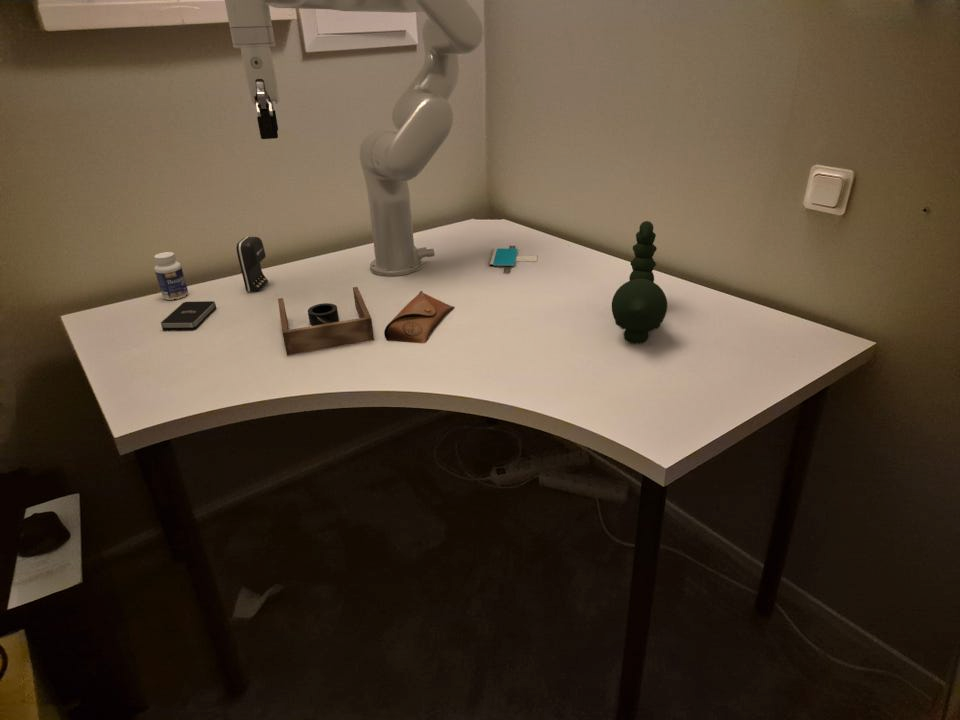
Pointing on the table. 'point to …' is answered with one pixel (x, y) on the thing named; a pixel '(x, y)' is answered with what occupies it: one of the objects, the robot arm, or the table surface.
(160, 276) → the pill bottle
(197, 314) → the external hard drive
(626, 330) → the dark green bulbous piece
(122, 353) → the table surface
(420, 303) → the sunglasses case
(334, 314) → the black lugged cup
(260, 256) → the battery charger
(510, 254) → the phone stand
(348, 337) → the cubby
